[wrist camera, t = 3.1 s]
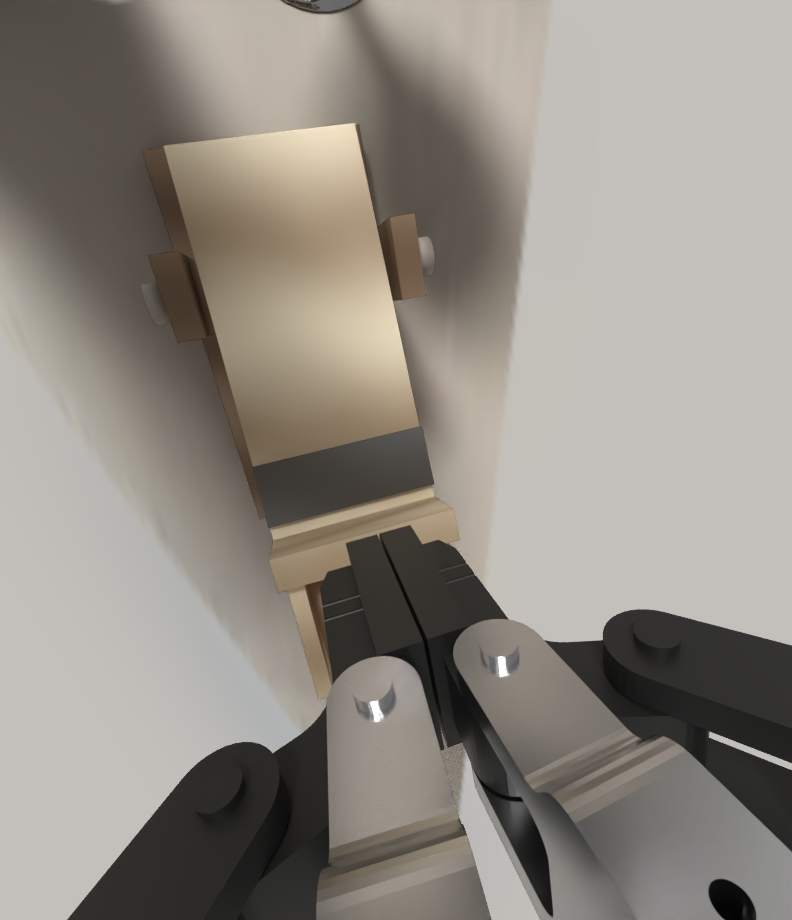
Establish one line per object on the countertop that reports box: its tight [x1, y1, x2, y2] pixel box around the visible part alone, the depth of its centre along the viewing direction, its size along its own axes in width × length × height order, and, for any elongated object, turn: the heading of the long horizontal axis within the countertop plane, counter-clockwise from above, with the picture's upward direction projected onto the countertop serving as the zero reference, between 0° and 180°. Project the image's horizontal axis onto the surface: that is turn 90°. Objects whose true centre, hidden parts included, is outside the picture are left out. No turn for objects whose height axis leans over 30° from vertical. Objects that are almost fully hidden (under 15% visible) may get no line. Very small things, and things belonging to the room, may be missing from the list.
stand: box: [141, 124, 435, 519], centre depth 18 cm, size 17×9×9 cm, turn 10°
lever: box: [164, 123, 460, 700], centre depth 14 cm, size 17×6×3 cm, turn 10°
